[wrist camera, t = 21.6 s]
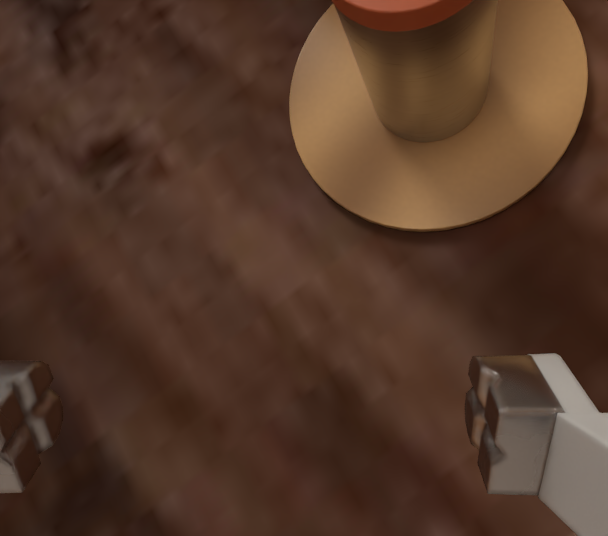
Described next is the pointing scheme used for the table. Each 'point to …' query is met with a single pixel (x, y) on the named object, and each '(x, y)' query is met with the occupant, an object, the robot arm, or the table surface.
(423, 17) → the tin
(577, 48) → the mat
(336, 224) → the table surface
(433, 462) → the table surface
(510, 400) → the robot arm
